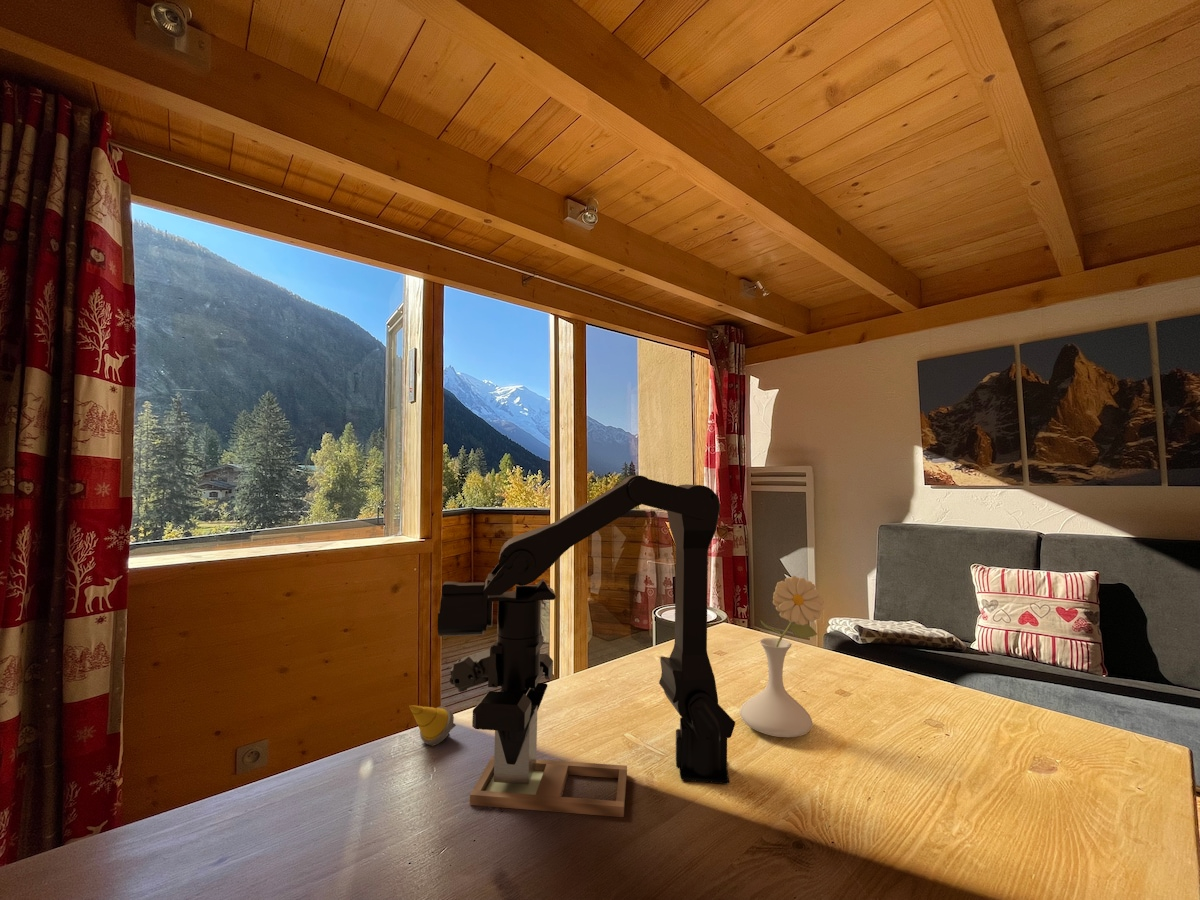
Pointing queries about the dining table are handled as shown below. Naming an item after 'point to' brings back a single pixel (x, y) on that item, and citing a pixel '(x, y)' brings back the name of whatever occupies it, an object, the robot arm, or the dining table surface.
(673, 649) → the robot arm
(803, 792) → the dining table surface
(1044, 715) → the dining table surface
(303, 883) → the dining table surface
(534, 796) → the wooden double frame
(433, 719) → the yellow and grey cone
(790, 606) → the flower in vase
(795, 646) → the dining table surface
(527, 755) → the grey tall block
